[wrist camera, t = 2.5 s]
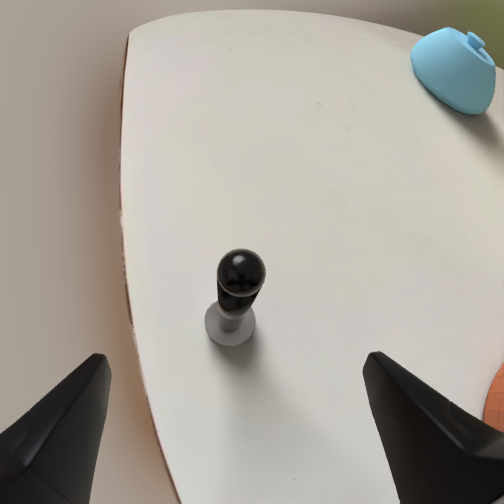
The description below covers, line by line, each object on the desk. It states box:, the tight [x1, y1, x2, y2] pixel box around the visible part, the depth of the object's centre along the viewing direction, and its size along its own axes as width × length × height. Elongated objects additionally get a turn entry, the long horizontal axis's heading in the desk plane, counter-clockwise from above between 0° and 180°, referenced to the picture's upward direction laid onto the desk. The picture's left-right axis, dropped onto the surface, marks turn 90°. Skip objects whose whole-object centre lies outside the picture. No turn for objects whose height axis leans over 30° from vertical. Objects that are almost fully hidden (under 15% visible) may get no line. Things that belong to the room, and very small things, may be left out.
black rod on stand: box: [205, 249, 266, 347], centre depth 14 cm, size 3×3×13 cm
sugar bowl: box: [410, 28, 496, 114], centre depth 30 cm, size 15×15×12 cm
